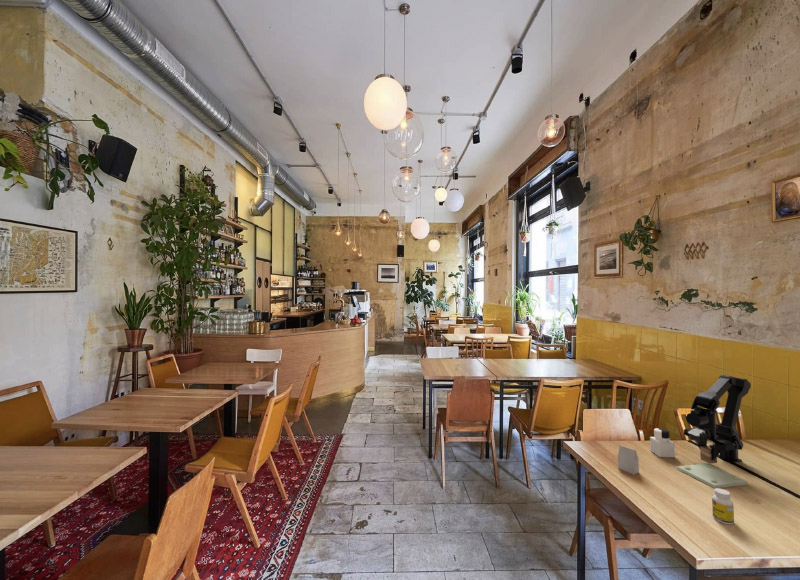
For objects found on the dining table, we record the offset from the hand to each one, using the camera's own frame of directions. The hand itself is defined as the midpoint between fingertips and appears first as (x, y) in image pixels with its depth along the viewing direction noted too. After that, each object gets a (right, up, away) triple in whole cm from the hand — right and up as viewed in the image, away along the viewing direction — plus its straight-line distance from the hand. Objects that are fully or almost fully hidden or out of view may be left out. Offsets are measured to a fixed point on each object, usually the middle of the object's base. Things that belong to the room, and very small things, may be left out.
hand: (708, 457), depth 158 cm
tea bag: (-40, -4, -4) cm, 40 cm away
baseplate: (-8, -3, -11) cm, 14 cm away
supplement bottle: (-30, -3, -39) cm, 50 cm away
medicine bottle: (-13, -4, +11) cm, 17 cm away
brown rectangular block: (0, -2, 0) cm, 2 cm away
